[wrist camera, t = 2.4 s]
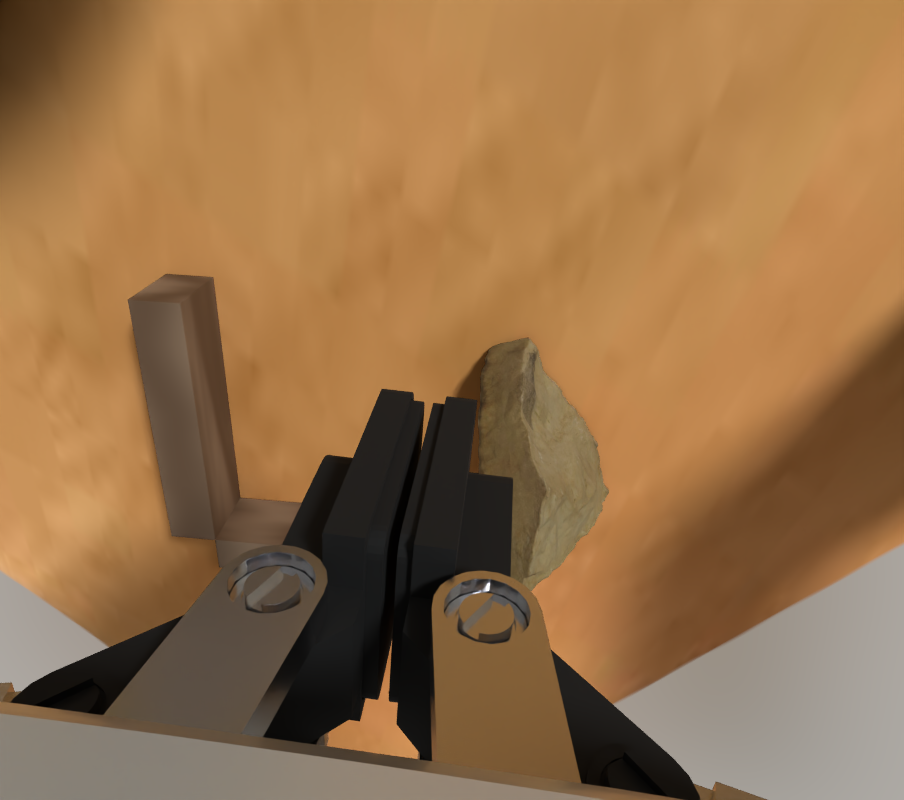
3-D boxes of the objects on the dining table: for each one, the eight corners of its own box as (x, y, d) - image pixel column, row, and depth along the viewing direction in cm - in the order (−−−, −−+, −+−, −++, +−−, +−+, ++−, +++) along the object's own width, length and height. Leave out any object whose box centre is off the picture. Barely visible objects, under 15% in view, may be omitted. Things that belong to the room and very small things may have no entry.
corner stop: (405, 290, 35) (393, 318, 31) (401, 537, 42) (391, 582, 39) (165, 273, 35) (127, 299, 32) (204, 520, 43) (176, 563, 39)
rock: (432, 335, 33) (412, 513, 37) (547, 395, 27) (510, 605, 30) (590, 325, 39) (560, 480, 43) (715, 373, 33) (669, 550, 36)
